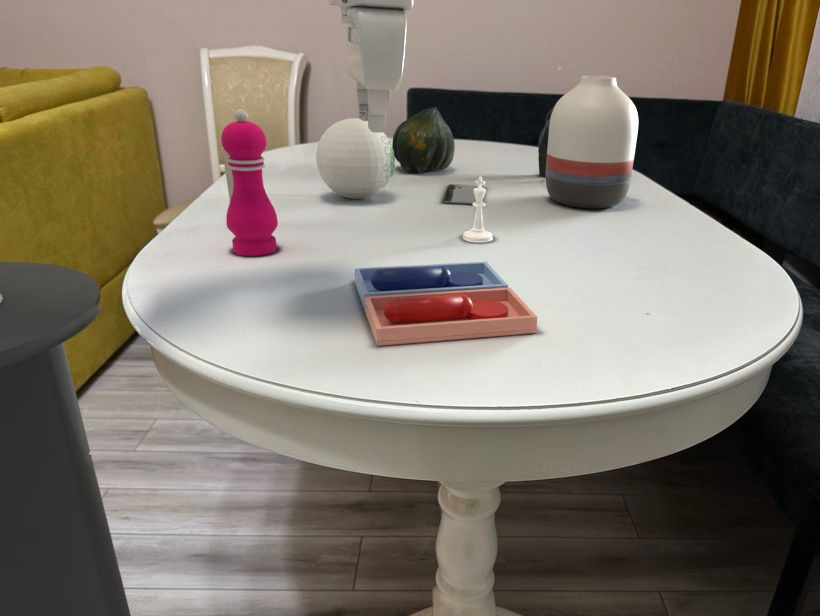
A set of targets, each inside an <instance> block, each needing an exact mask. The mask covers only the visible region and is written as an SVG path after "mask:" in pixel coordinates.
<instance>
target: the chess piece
mask: <svg viewBox="0 0 820 616" xmlns="http://www.w3.org/2000/svg"><path fill="white" fill-rule="evenodd" d="M477 178H478V179H475V180H474V184H476V185H477V186H478V187H477V188H474V189H473V191H474V194H475V198H476V202H474V203H473V204H471V205H472V206H473V207H475V213H474V219H473V225H472V226H471V228H470V229H469V230H466V231H464V232H463V234H462V239H463V241H466V242H470V243H475V244H476V243H477V244H481V243H482V244H484V243H489V242H492V241H493V240H494V239H493V233H492V232H490V231H487V230H486V228H485V227H484V219H483V208H484V207H486V206H487V204H486V203H485V202H484V201H483V200H484V199H485V196H486V195H485V194H486V193H487V189H486V188H485V187H484V188H482V186H483V185H486V181H485V180H483V176H478V177H477Z"/></svg>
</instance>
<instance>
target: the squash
mask: <svg viewBox="0 0 820 616" xmlns="http://www.w3.org/2000/svg"><path fill="white" fill-rule="evenodd" d="M391 144H392V148H393V151H394V158H395V160H396V161H397V162H398V163H399V165H400V166H401V168H402V169H403V170H404V171H406V172H408V173H415V172H418V173H424V172H426V171H427V170H429V171H435V172H437V171H442V170H445V169H447V168H448V167H449V166H450V165H451V164H452V163H453V160H454V156H455V149H456V148H455V139H454V136H453V133H452V130H451V128H450V126H449V125H448V124H447V123H446V121H445V120H444V118H443V116H442V115H441V112H440V111H439V110H438V108H437V107H428V108H425V109H422V110H421V111H419V112H417V113H415V114H414V115H412V116H410V117H409V118H407V119H406V120H404V121H402V122H401V123H400V124H399V125H398V126H397V127H396V129H395V131H394V134H393V136H392V142H391Z"/></svg>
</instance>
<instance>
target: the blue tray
mask: <svg viewBox="0 0 820 616" xmlns="http://www.w3.org/2000/svg"><path fill="white" fill-rule="evenodd" d="M426 266H444V267H446V268H447V269H448V270H449V271H450V273H456V272H469V273H474V274H477V275H480V276H481V277H482V278H483V285H480V286H463V287H446V286H445V287H439V288H423V289H407V290H391V291H379V290H377V289H375V288H374V287H373V286H372V284H371V276H372V274H373V273H374V272H375V271H376V270H378V269H388V268H407V267H426ZM353 273H354V285H355V287H356V290H357V293H358V296H359V299H360V301H361V304H362V307H363V310H364V311H365V297H370V296H385V295H401V294H417V293H433V292H448V291H464V290H480V289H496V288H509V284H507V282H506V281H505V280H504V279H503V278H502V277H501V275H499V273H497V271H496V270H494V268H493V267H492V266H491V265H490V263H488V262H487V261H472V262H471V261H470V262H469V261H468V262H452V263H433V264H432V263H431V264H413V265H395V266H375V267H373V266H372V267H359V268H354V272H353Z"/></svg>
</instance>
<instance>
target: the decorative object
mask: <svg viewBox="0 0 820 616" xmlns="http://www.w3.org/2000/svg"><path fill="white" fill-rule="evenodd" d="M395 160H396V158H395V156H394V151H393V148H392V142H391V140H390V139H389V137H388V135H386V133H385V132H383V133H374V132H371V131H370V130H369V128H368V121H362V120H361V119H360V118H355V117H354V118H353V117H352V118H345V119H342V120H338V121H336V122H335V123H333V124H332V125H330V126H329V127H328V128H327V129H326V130H325V131H324V133H323V134H322V135H321V137H320V139H319V141H318V143H317V147H316V153H315V161H316V167H317V170H318V173H319V176H320V177H321V179H322V181H323V183H324V184H325V185H326V186H327V187H328V188H329V189H330V190H331V191H333V192H334V193H335V194H337V195H339V196H341V197H343V198H347V199H350V200H351V199H353V200H361V199H368V198H370V197H373V196H374V195H377V194H378V193H380V191H382V190H383V189H385V187H386V186H387V185H388V183H389V182H390V180H391V178H392V176H393V173H394V170H395V169H394V168H395V162H396V161H395Z"/></svg>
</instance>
